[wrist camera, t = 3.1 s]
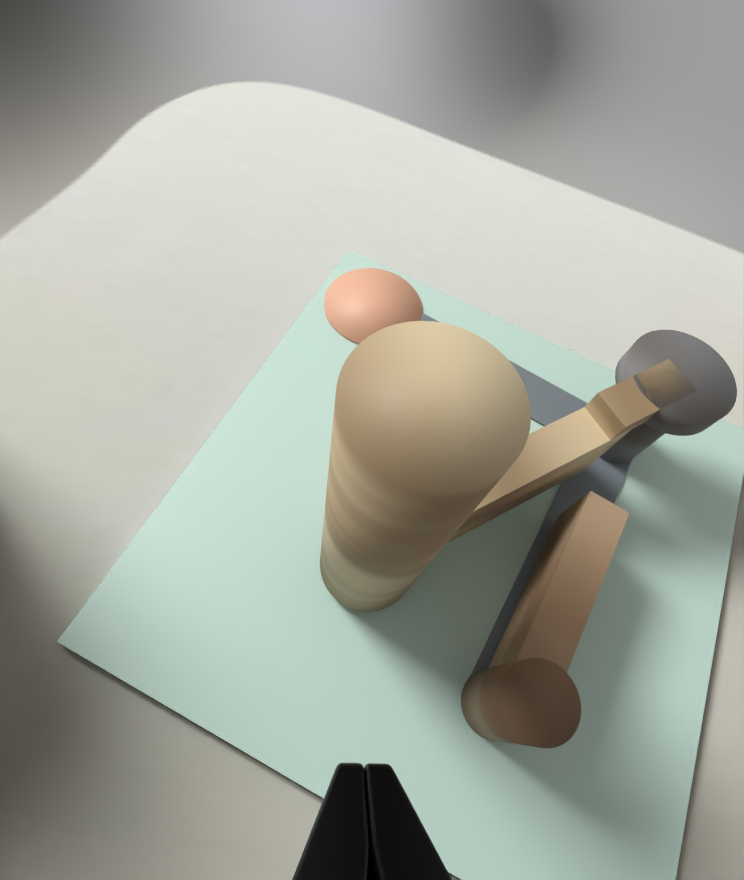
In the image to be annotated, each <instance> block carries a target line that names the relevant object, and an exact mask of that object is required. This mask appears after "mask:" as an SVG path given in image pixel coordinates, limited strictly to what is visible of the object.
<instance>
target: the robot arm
mask: <svg viewBox="0 0 744 880" xmlns="http://www.w3.org/2000/svg"><path fill="white" fill-rule="evenodd" d="M292 880H452V879H451V877H450V875H449V873H448V871H447V869H446V867H445V865H444V864H443V862H442V860H441V858H440V856H439V854H438V852H437V850H436V849H435V847H434V845H433V843H432V841H431V839H430V837H429V835H428V834H427V832H426V830H425V828H424V826H423V824H422V822H421V820H420V819H419V817H418V815H417V813H416V811H415V809H414V807H413V805H412V804H411V802H410V800H409V798H408V796H407V794H406V792H405V790H404V789H403V787H402V785H401V783H400V781H399V779H398V777H397V775H396V774H395V772H394V770H393V768H392V767H391V766H390V765H389V764H381V763H368V764H366V765H365V766H364V767H363V765H362V764H361V763H339V764H338V765H337V766H336V769H335V771H334V774H333V776H332V779H331V781H330V784H329V787H328V789H327V792H326V794H325V797H324V799H323V802H322V805H321V807H320V810H319V812H318V815H317V818H316V820H315V823H314V825H313V828H312V830H311V833H310V836H309V838H308V841H307V843H306V846H305V848H304V851H303V854H302V856H301V859H300V861H299V864H298V867H297V869H296V872H295V874H294V877H293V879H292Z"/></svg>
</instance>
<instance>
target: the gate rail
mask: <svg viewBox="0 0 744 880" xmlns="http://www.w3.org/2000/svg"><path fill="white" fill-rule="evenodd" d="M615 381H616V384H615V385H613V386H611V387H609V388H606V389H604V390H602V391H600V392H598V393H597V394H596V395H595V396H594V397H593V398H592V399H591V401H590V402H589V403H588V404H587V405H586V406H585V407H584V408H582V409H579V410H577V411H575V412H573V413H571V414H569V415H567V416H565V417H563V418H561V419H559V420H557V421H555V422H553V423H551V424H548V425H546V426H544V427H542V428H540V429H538V430H536V431H534V432H532V433H530V434H529V431H530V424H531V407H530V402H529V397H528V394H527V391H526V388H525V385H524V383H523V381H522V379H521V377H520V375H519V374H518V372H517V371H516V369H515V368H514V366H513V365H512V364H511V363H510V361H509V360H508V359H507V358H506V357H505V356H504V355H503V354H502V353H501V352H500V351H499V350H498V349H497V348H496V347H494V346H493V345H492V344H490V343H489V342H488V341H486V340H485V339H483V338H481V337H480V336H478V335H476V334H474V333H472V332H470V331H468V330H465V329H463V328H460V327H457V326H454V325H450V324H446V323H440V322H433V321H411V322H404V323H399V324H395V325H392V326H388V327H386V328H383V329H381V330H379V331H377V332H375V333H373V334H372V335H370V336H368V337H367V338H366V339H364V340H363V341H362V342H361V343H359V344H358V345H357V346H356V347H355V349H354V350H353V351H352V352H351V353H350V355H349V356H348V357H347V359H346V360H345V362H344V364H343V366H342V368H341V371H340V374H339V377H338V380H337V387H336V395H335V405H334V416H333V427H332V437H331V448H330V459H329V469H328V480H327V491H326V501H325V512H324V523H323V533H322V544H321V555H320V571H321V576H322V579H323V582H324V584H325V586H326V588H327V590H328V591H329V592H330V594H331V595H332V596H333V597H334V598H335V599H336V600H337V601H338V602H340V603H341V604H343V605H344V606H346V607H348V608H351V609H353V610H357V611H364V612H372V611H378V610H381V609H384V608H387V607H389V606H391V605H392V604H394V603H395V602H396V601H398V600H399V599H400V598H401V597H402V595H403V594H404V593H405V592H406V591H407V590H408V588H409V587H410V586H411V585H412V584H413V582H414V581H415V580H416V579H417V578H418V577H419V575H420V574H421V573H422V572H423V571H424V569H425V568H426V567H427V566H428V565H429V563H430V562H431V561H432V560H433V559H434V558H435V556H436V555H437V554H438V553H439V552H440V550H441V549H442V548H443V547H444V546H445V544H447V543H448V542H450V541H452V540H454V539H456V538H458V537H460V536H462V535H463V534H465V533H467V532H469V531H471V530H473V529H475V528H477V527H479V526H480V525H482V524H484V523H486V522H488V521H490V520H492V519H494V518H495V517H497V516H499V515H501V514H503V513H505V512H507V511H509V510H511V509H512V508H514V507H516V506H518V505H520V504H522V503H524V502H526V501H528V500H529V499H531V498H533V497H535V496H537V495H539V494H541V493H543V492H544V491H546V490H548V489H550V488H552V487H554V486H556V485H558V484H560V483H561V482H563V481H565V480H567V479H569V478H571V477H573V476H575V475H577V474H578V473H580V472H582V471H584V470H585V469H586V468H587V467H588V466H590V465H591V464H592V463H593V462H594V461H595V460H597V459H598V458H599V457H600V456H601V455H602V454H603V453H605V452H606V451H607V450H608V449H609V448H610V447H612V446H613V445H614V444H615V443H616V442H617V441H619V440H620V439H621V438H622V437H623V436H624V435H625V434H627V433H628V432H629V431H630V430H631V429H633V428H635V427H637V426H639V425H641V424H643V423H645V424H646V425H648V426H650V427H652V428H654V429H656V430H658V431H660V432H663V433H666V434H670V435H677V436H689V435H694V434H698V433H700V432H702V431H704V430H705V429H707V428H708V427H710V426H711V425H713V424H714V423H715V422H717V421H718V420H720V419H721V418H723V417H724V416H725V415H727V414H728V413H729V412H730V411H731V409H732V408H733V406H734V404H735V401H736V396H737V388H736V382H735V379H734V376H733V374H732V372H731V370H730V368H729V366H728V365H727V363H726V362H725V361H724V359H723V358H722V357H721V356H720V355H719V354H718V353H717V352H716V351H715V350H714V349H713V348H711V347H710V346H709V345H708V344H706V343H705V342H703V341H701V340H700V339H698V338H696V337H694V336H691V335H689V334H686V333H683V332H679V331H673V330H657V331H652V332H649V333H647V334H645V335H643V336H641V337H640V338H639V339H638V340H637V341H636V342H635V343H634V344H633V345H632V347H631V348H630V349H629V350H628V351H627V352H626V353H625V354H624V355H623V357H622V358H621V359H620V361H619V362H618V365H617V367H616V372H615Z"/></svg>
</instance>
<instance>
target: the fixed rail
mask: <svg viewBox="0 0 744 880" xmlns="http://www.w3.org/2000/svg"><path fill="white" fill-rule="evenodd" d="M664 434H665V433H663V432H660V431H658V430H656V429H654V428H652V427H650V426H648V425H646V424H645V423H643V424H641V425H639V426H637V427H635V428H633V429H631V430H630V431H629V432H628V433H627V434H625V435H624V436H623V437H622V438H621V439H620V440H619V441H617V442H616V443H615V444H614V445H613V446H612V447H610V448H609V449H608V450H607V451H606V452H605V453H603V454H602V455H601V456H600V458H602V459H603V460H605V461H608V462H611V463H625V462H628V461H630V460H631V459H633V458H634V457H635V456H637V455H638V454H639V453H641V452H642V451H643V450H645V449H646V448H647V447H648V446H650V445H651V444H652V443H654V442H655V441H656V440H658V439H659V438H660V437H661V436H663V435H664ZM628 515H629V512H627V511H625V510H623V509H622V508H620V507H618V506H617V505H615V504H613V503H611V502H610V501H608V500H606V499H604V498H603V497H601V496H599V495H597V494H596V493H594V492H592V491H590V492H589V493H587V494H586V495H585V496H583V497H582V498H581V499H579V500H578V501H577V502H576V503H574V504H573V505H572V506H570V507H569V508H568V509H566V510H565V511H564V512H563V513H561V514H560V515H559V516H558V518H557V520H556V522H555V524H554V527H553V529H552V531H551V533H550V535H549V537H548V540H547V542H546V544H545V546H544V548H543V550H542V553H541V555H540V557H539V559H538V561H537V563H536V566H535V568H534V570H533V572H532V574H531V576H530V579H529V581H528V583H527V585H526V587H525V589H524V592H523V594H522V596H521V598H520V600H519V602H518V605H517V607H516V609H515V611H514V613H513V615H512V618H511V620H510V622H509V624H508V626H507V628H506V631H505V633H504V635H503V637H502V639H501V641H500V644H499V646H498V648H497V650H496V652H495V654H494V657H493V659H492V661H491V663H490V665H489V667H488V668H486V669H482V670H479V671H477V672H476V673H474V674H473V675H472V676H471V677H469V678H468V680H467V681H466V683H465V685H464V687H463V690H462V695H461V707H462V712H463V715H464V717H465V719H466V721H467V723H468V725H469V726H470V727H471V728H472V730H473V731H475V732H476V733H477V734H478V735H480V736H482V737H483V738H486V739H489V740H495V741H501V742H507V743H513V744H520V745H526V746H532V747H538V748H555V747H558V746H561V745H563V744H565V743H566V742H567V741H569V740H570V739H571V738H572V736H573V735H574V734H575V732H576V730H577V728H578V726H579V722H580V718H581V701H580V696H579V693H578V690H577V688H576V685H575V684H574V682H573V680H572V679H571V677H570V676H569V675H568V674H567V671H568V669H569V666H570V664H571V661H572V659H573V656H574V653H575V651H576V648H577V646H578V643H579V641H580V638H581V636H582V633H583V630H584V628H585V625H586V623H587V620H588V618H589V615H590V613H591V610H592V607H593V605H594V602H595V600H596V597H597V595H598V592H599V590H600V587H601V584H602V582H603V579H604V577H605V574H606V572H607V569H608V567H609V564H610V561H611V559H612V556H613V554H614V551H615V549H616V546H617V544H618V541H619V538H620V536H621V533H622V531H623V528H624V526H625V523H626V521H627V518H628Z"/></svg>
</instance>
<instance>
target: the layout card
mask: <svg viewBox="0 0 744 880" xmlns="http://www.w3.org/2000/svg"><path fill="white" fill-rule="evenodd" d="M411 321H433V322H440V323H446V324H450V325H454V326H457V327H460V328H463V329H465V330H468V331H470V332H472V333H474V334H476V335H478V336H480V337H481V338H483V339H485V340H486V341H488V342H489V343H490V344H492V345H493V346H494V347H496V348H497V349H498V350H499V351H500V352H501V353H502V354H503V355H504V356H505V357H506V358H507V359H508V360H509V361H510V363H511V364H512V365H513V366H514V368H515V369H516V371H517V372H518V374H519V375H520V377H521V379H522V381H523V383H524V385H525V388H526V391H527V394H528V397H529V402H530V407H531V424H530V431H529V434H530V433H532V432H534V431H536V430H538V429H540V428H542V427H544V426H546V425H548V424H551V423H553V422H555V421H557V420H559V419H561V418H563V417H565V416H567V415H569V414H571V413H573V412H575V411H577V410H579V409H582V408H584V407H585V406H586V405H587V404H588V403H589V402H590V401H591V399H592V398H593V397H594V396H595V395H596V394H597V393H598V392H600V391H602V390H604V389H606V388H609V387H611V386H613V385H615V384H616V381H615V372H616V371H614V370H612V369H610V368H608V367H605V366H603V365H601V364H599V363H597V362H594V361H592V360H590V359H588V358H586V357H583V356H581V355H579V354H577V353H575V352H572V351H570V350H568V349H566V348H564V347H561V346H559V345H557V344H555V343H553V342H550V341H548V340H546V339H544V338H542V337H539V336H537V335H535V334H533V333H531V332H528V331H526V330H524V329H522V328H520V327H517V326H515V325H513V324H511V323H509V322H506V321H504V320H502V319H500V318H498V317H495V316H493V315H491V314H489V313H487V312H484V311H482V310H480V309H478V308H476V307H473V306H471V305H469V304H467V303H465V302H462V301H460V300H458V299H456V298H454V297H451V296H449V295H447V294H445V293H443V292H440V291H438V290H436V289H434V288H432V287H429V286H427V285H425V284H423V283H421V282H418V281H416V280H414V279H412V278H410V277H407V276H405V275H403V274H401V273H399V272H396V271H394V270H392V269H390V268H388V267H385V266H383V265H381V264H379V263H377V262H374V261H372V260H370V259H368V258H366V257H363V256H361V255H359V254H357V253H355V252H352V251H350V250H348V251H347V253H346V254H345V255H344V257H343V258H342V259H341V261H340V262H339V264H338V265H337V266H336V268H335V269H334V270H333V272H332V273H331V274H330V276H329V277H328V278H327V280H326V281H325V282H324V284H323V285H322V286H321V288H320V289H319V290H318V292H317V293H316V294H315V296H314V297H313V298H312V300H311V301H310V302H309V304H308V305H307V306H306V308H305V309H304V310H303V312H302V313H301V314H300V316H299V317H298V319H297V320H296V321H295V323H294V324H293V325H292V327H291V328H290V329H289V331H288V332H287V333H286V335H285V336H284V337H283V339H282V340H281V341H280V343H279V344H278V345H277V347H276V348H275V349H274V351H273V352H272V353H271V355H270V356H269V357H268V359H267V360H266V361H265V363H264V364H263V365H262V367H261V368H260V370H259V371H258V372H257V374H256V375H255V376H254V378H253V379H252V380H251V382H250V383H249V384H248V386H247V387H246V388H245V390H244V391H243V392H242V394H241V395H240V396H239V398H238V399H237V400H236V402H235V403H234V404H233V406H232V407H231V408H230V410H229V411H228V412H227V414H226V415H225V416H224V418H223V419H222V421H221V422H220V423H219V425H218V426H217V427H216V429H215V430H214V431H213V433H212V434H211V435H210V437H209V438H208V439H207V441H206V442H205V443H204V445H203V446H202V447H201V449H200V450H199V451H198V453H197V454H196V455H195V457H194V458H193V459H192V461H191V462H190V463H189V465H188V466H187V467H186V469H185V470H184V472H183V473H182V474H181V476H180V477H179V478H178V480H177V481H176V482H175V484H174V485H173V486H172V488H171V489H170V490H169V492H168V493H167V494H166V496H165V497H164V498H163V500H162V501H161V502H160V504H159V505H158V506H157V508H156V509H155V510H154V512H153V513H152V514H151V516H150V517H149V518H148V520H147V521H146V523H145V524H144V525H143V527H142V528H141V529H140V531H139V532H138V533H137V535H136V536H135V537H134V539H133V540H132V541H131V543H130V544H129V545H128V547H127V548H126V549H125V551H124V552H123V553H122V555H121V556H120V557H119V559H118V560H117V561H116V563H115V564H114V565H113V567H112V568H111V569H110V571H109V572H108V573H107V575H106V576H105V578H104V579H103V580H102V582H101V583H100V584H99V586H98V587H97V588H96V590H95V591H94V592H93V594H92V595H91V596H90V598H89V599H88V600H87V602H86V603H85V604H84V606H83V607H82V608H81V610H80V611H79V612H78V614H77V615H76V616H75V618H74V619H73V620H72V622H71V623H70V624H69V626H68V627H67V629H66V630H65V631H64V633H63V634H62V635H61V637H60V638H59V639H58V641H57V642H58V643H60V644H62V645H63V646H65V647H67V648H68V649H70V650H72V651H73V652H75V653H77V654H79V655H80V656H82V657H84V658H85V659H87V660H89V661H90V662H92V663H94V664H96V665H97V666H99V667H101V668H102V669H104V670H106V671H107V672H109V673H111V674H113V675H114V676H116V677H118V678H119V679H121V680H123V681H124V682H126V683H128V684H130V685H131V686H133V687H135V688H136V689H138V690H140V691H142V692H143V693H145V694H147V695H148V696H150V697H152V698H153V699H155V700H157V701H159V702H160V703H162V704H164V705H165V706H167V707H169V708H170V709H172V710H174V711H176V712H177V713H179V714H181V715H182V716H184V717H186V718H187V719H189V720H191V721H193V722H194V723H196V724H198V725H199V726H201V727H203V728H204V729H206V730H208V731H210V732H211V733H213V734H215V735H216V736H218V737H220V738H221V739H223V740H225V741H227V742H228V743H230V744H232V745H233V746H235V747H237V748H238V749H240V750H242V751H244V752H245V753H247V754H249V755H250V756H252V757H254V758H255V759H257V760H259V761H261V762H262V763H264V764H266V765H267V766H269V767H271V768H272V769H274V770H276V771H278V772H279V773H281V774H283V775H284V776H286V777H288V778H289V779H291V780H293V781H295V782H296V783H298V784H300V785H301V786H303V787H305V788H306V789H308V790H310V791H312V792H313V793H315V794H317V795H318V796H320V797H322V798H323V799H324V797H325V794H326V792H327V789H328V787H329V784H330V781H331V779H332V776H333V774H334V771H335V769H336V766H337V765H338V764H339V763H361V764H362V765H363V767H364V766H365V765H366V764H368V763H381V764H389V765H390V766H391V767H392V768H393V770H394V772H395V774H396V775H397V777H398V779H399V781H400V783H401V785H402V787H403V789H404V790H405V792H406V794H407V796H408V798H409V800H410V802H411V804H412V805H413V807H414V809H415V811H416V813H417V815H418V817H419V819H420V820H421V822H422V824H423V826H424V828H425V830H426V832H427V834H428V835H429V837H430V839H431V841H432V843H433V845H434V847H435V849H436V850H437V852H438V854H439V856H440V858H441V860H442V862H443V864H444V865H445V867H446V869H447V871H448V872H449V873H451V874H453V875H454V876H456V877H458V878H459V879H461V880H676V874H677V868H678V863H679V857H680V851H681V845H682V839H683V833H684V827H685V821H686V815H687V809H688V803H689V797H690V791H691V785H692V779H693V773H694V767H695V761H696V755H697V749H698V743H699V737H700V731H701V725H702V719H703V713H704V707H705V701H706V695H707V690H708V684H709V678H710V672H711V666H712V660H713V654H714V648H715V642H716V636H717V630H718V624H719V618H720V612H721V606H722V600H723V594H724V588H725V582H726V576H727V570H728V564H729V558H730V552H731V546H732V540H733V534H734V528H735V522H736V517H737V511H738V505H739V499H740V493H741V487H742V481H743V475H744V429H742V428H740V427H737V426H735V425H733V424H731V423H729V422H726V421H724V420H722V419H720V420H718V421H717V422H715V423H714V424H713V425H711V426H710V427H708V428H707V429H705V430H704V431H702V432H700V433H698V434H694V435H689V436H677V435H670V434H666V433H665V434H664V435H663V436H661V437H660V438H659V439H658V440H656V441H655V442H654V443H652V444H651V445H650V446H648V447H647V448H646V449H645V450H643V451H642V452H641V453H639V454H638V455H637V456H635V457H634V458H633V459H631V460H630V461H628V462H625V463H611V462H608V461H605V460H603V459H602V458H600V457H599V458H598V459H597V460H595V461H594V462H593V463H592V464H591V465H590V466H588V467H587V468H586V469H585V470H584V471H582V472H580V473H578V474H577V475H575V476H573V477H571V478H569V479H567V480H565V481H563V482H561V483H560V484H558V485H556V486H554V487H552V488H550V489H548V490H546V491H544V492H543V493H541V494H539V495H537V496H535V497H533V498H531V499H529V500H528V501H526V502H524V503H522V504H520V505H518V506H516V507H514V508H512V509H511V510H509V511H507V512H505V513H503V514H501V515H499V516H497V517H495V518H494V519H492V520H490V521H488V522H486V523H484V524H482V525H480V526H479V527H477V528H475V529H473V530H471V531H469V532H467V533H465V534H463V535H462V536H460V537H458V538H456V539H454V540H452V541H450V542H448V543H447V544H445V546H444V547H443V548H442V549H441V550H440V552H439V553H438V554H437V555H436V556H435V558H434V559H433V560H432V561H431V562H430V563H429V565H428V566H427V567H426V568H425V569H424V571H423V572H422V573H421V574H420V575H419V577H418V578H417V579H416V580H415V581H414V582H413V584H412V585H411V586H410V587H409V588H408V590H407V591H406V592H405V593H404V594H403V595H402V597H401V598H400V599H399V600H398V601H396V602H395V603H394V604H392V605H391V606H389V607H387V608H384V609H381V610H378V611H372V612H364V611H357V610H353V609H351V608H348V607H346V606H344V605H343V604H341V603H340V602H338V601H337V600H336V599H335V598H334V597H333V596H332V595H331V594H330V592H329V591H328V590H327V588H326V586H325V584H324V582H323V579H322V576H321V571H320V555H321V544H322V533H323V523H324V512H325V501H326V491H327V480H328V469H329V459H330V448H331V437H332V427H333V416H334V405H335V395H336V387H337V380H338V377H339V374H340V371H341V368H342V366H343V364H344V362H345V360H346V359H347V357H348V356H349V355H350V353H351V352H352V351H353V350H354V349H355V347H356V346H357V345H358V344H359V343H361V342H362V341H363V340H364V339H366V338H367V337H368V336H370V335H372V334H373V333H375V332H377V331H379V330H381V329H383V328H386V327H388V326H392V325H395V324H399V323H404V322H411ZM590 491H592V492H594V493H596V494H597V495H599V496H601V497H603V498H604V499H606V500H608V501H610V502H611V503H613V504H615V505H617V506H618V507H620V508H622V509H623V510H625V511H627V512H629V515H628V518H627V521H626V523H625V526H624V528H623V531H622V533H621V536H620V538H619V541H618V544H617V546H616V549H615V551H614V554H613V556H612V559H611V561H610V564H609V567H608V569H607V572H606V574H605V577H604V579H603V582H602V584H601V587H600V590H599V592H598V595H597V597H596V600H595V602H594V605H593V607H592V610H591V613H590V615H589V618H588V620H587V623H586V625H585V628H584V630H583V633H582V636H581V638H580V641H579V643H578V646H577V648H576V651H575V653H574V656H573V659H572V661H571V664H570V666H569V669H568V671H567V674H568V675H569V676H570V677H571V679H572V680H573V682H574V684H575V685H576V688H577V690H578V693H579V696H580V701H581V718H580V722H579V726H578V728H577V730H576V732H575V734H574V735H573V736H572V738H571V739H570V740H569V741H567V742H566V743H565V744H563V745H561V746H558V747H555V748H538V747H532V746H526V745H520V744H513V743H507V742H501V741H495V740H489V739H486V738H483V737H482V736H480V735H478V734H477V733H476V732H475V731H473V730H472V728H471V727H470V726H469V725H468V723H467V721H466V719H465V717H464V715H463V712H462V707H461V695H462V690H463V687H464V685H465V683H466V681H467V680H468V678H469V677H471V676H472V675H473V674H474V673H476V672H477V671H479V670H482V669H486V668H488V667H489V665H490V663H491V661H492V659H493V657H494V654H495V652H496V650H497V648H498V646H499V644H500V641H501V639H502V637H503V635H504V633H505V631H506V628H507V626H508V624H509V622H510V620H511V618H512V615H513V613H514V611H515V609H516V607H517V605H518V602H519V600H520V598H521V596H522V594H523V592H524V589H525V587H526V585H527V583H528V581H529V579H530V576H531V574H532V572H533V570H534V568H535V566H536V563H537V561H538V559H539V557H540V555H541V553H542V550H543V548H544V546H545V544H546V542H547V540H548V537H549V535H550V533H551V531H552V529H553V527H554V524H555V522H556V520H557V518H558V516H559V515H560V514H561V513H563V512H564V511H565V510H566V509H568V508H569V507H570V506H572V505H573V504H574V503H576V502H577V501H578V500H579V499H581V498H582V497H583V496H585V495H586V494H587V493H589V492H590Z"/></svg>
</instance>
